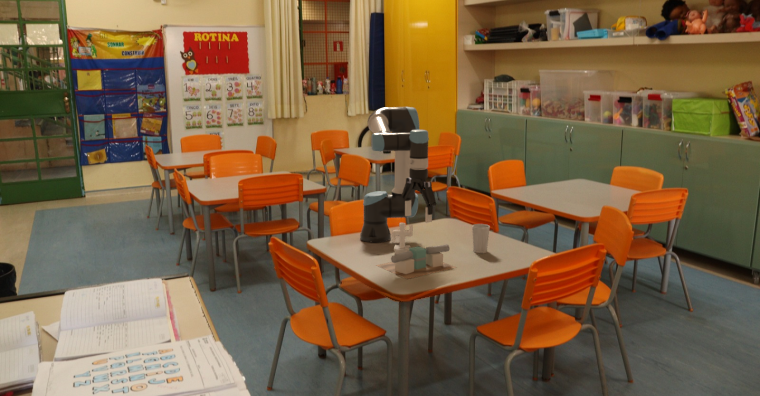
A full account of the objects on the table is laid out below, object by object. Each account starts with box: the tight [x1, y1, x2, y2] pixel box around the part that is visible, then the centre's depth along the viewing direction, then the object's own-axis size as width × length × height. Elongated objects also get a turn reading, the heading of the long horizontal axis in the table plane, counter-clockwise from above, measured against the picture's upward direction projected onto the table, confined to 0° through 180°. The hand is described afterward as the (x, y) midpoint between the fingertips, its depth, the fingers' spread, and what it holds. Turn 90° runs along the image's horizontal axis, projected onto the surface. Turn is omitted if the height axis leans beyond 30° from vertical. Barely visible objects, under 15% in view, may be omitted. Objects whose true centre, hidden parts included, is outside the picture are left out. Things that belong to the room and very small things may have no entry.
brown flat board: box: [375, 261, 457, 280], centre depth 262 cm, size 22×26×1 cm
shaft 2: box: [425, 244, 450, 267], centre depth 264 cm, size 10×6×8 cm, turn 115°
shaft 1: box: [390, 251, 414, 274], centre depth 254 cm, size 10×6×8 cm, turn 135°
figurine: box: [391, 222, 414, 255], centre depth 280 cm, size 7×9×15 cm
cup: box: [471, 223, 491, 254], centre depth 286 cm, size 8×8×12 cm
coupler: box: [409, 246, 426, 270], centre depth 260 cm, size 5×5×8 cm
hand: (418, 219), depth 257 cm, fingers open, 13 cm apart
